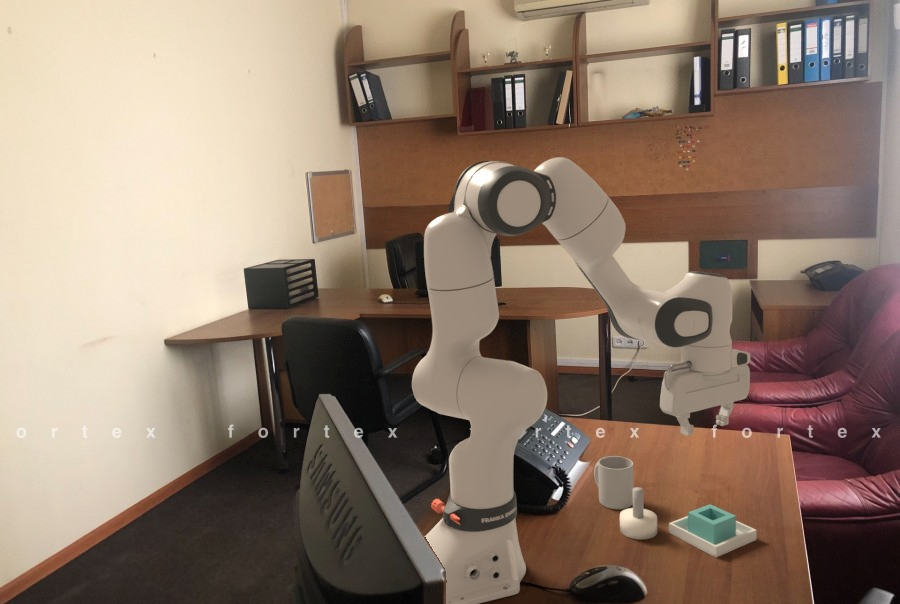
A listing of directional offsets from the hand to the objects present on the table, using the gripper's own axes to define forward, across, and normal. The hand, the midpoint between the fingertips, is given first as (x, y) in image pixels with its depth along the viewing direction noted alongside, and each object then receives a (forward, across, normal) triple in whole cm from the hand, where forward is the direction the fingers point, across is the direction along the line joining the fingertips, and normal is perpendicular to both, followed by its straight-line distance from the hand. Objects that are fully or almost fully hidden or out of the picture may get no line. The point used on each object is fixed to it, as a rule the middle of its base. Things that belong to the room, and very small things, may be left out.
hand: (704, 429), depth 130 cm
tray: (+20, 0, -2) cm, 20 cm away
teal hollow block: (+20, -1, -2) cm, 20 cm away
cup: (+20, -5, +20) cm, 29 cm away
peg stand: (+20, -10, +7) cm, 24 cm away
